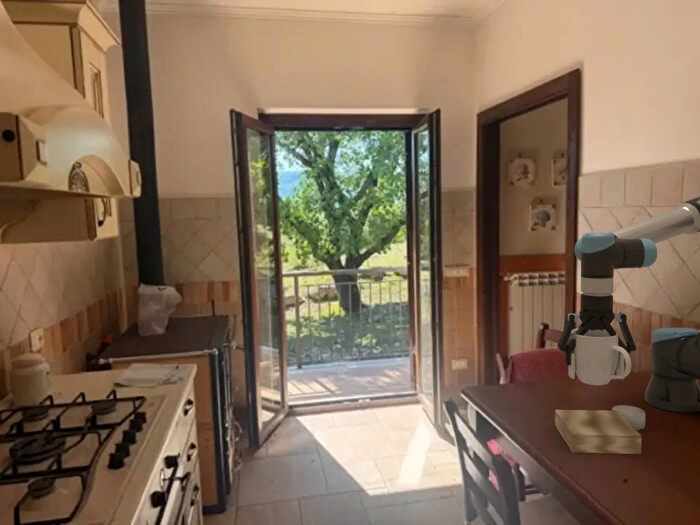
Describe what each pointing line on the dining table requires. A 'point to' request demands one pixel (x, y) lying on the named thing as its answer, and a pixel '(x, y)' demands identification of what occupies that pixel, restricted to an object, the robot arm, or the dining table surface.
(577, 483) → the dining table surface
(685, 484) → the dining table surface
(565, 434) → the beech box
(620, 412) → the stoneware dish
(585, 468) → the dining table surface
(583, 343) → the mug
